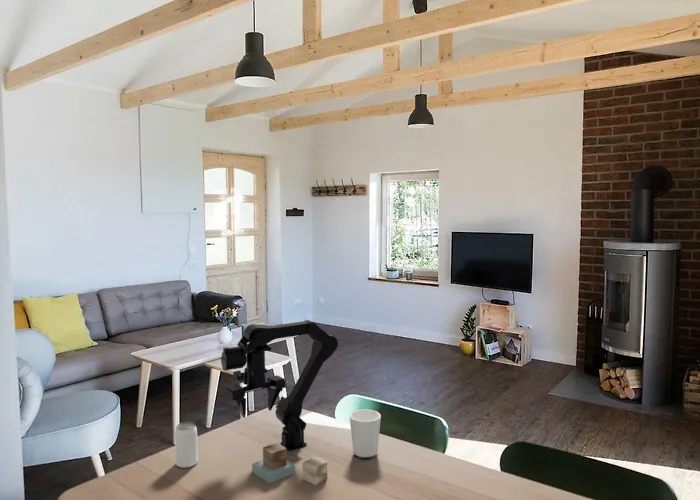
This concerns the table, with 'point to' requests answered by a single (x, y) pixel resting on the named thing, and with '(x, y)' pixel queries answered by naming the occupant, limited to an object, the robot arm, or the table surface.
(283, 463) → the walnut cube
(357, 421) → the cup
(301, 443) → the robot arm
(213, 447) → the table surface
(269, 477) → the base block
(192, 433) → the can
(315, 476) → the beech cube
